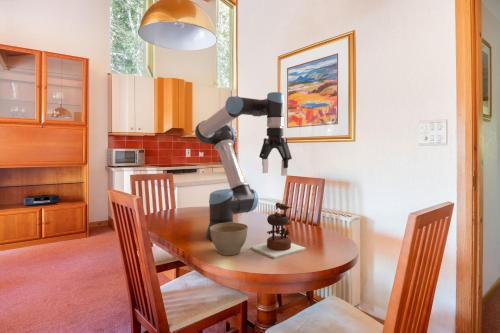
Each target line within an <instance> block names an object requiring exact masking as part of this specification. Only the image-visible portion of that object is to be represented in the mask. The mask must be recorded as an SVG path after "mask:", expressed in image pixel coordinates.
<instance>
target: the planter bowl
mask: <svg viewBox="0 0 500 333" xmlns="http://www.w3.org/2000/svg"><path fill="white" fill-rule="evenodd" d="M248 228H249V226H248V225H247V224H244V223H241V222H233V223H220V224H216V225H213V226H211V227H210V232H211V239H212V240H211V241H212V243H213V245H214V247H215V249H217V253H218V254H220V255H223V256H233V255H238V254H239V253H240V252H241V250H242V248H243V246H244V245H245V242H246V240H247V237H248V236H247V235H248Z"/></svg>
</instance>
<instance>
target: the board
mask: <svg viewBox="0 0 500 333" xmlns="http://www.w3.org/2000/svg"><path fill="white" fill-rule="evenodd" d="M306 249H307V248H306V247H304V246H302V245H298V244H297V243H293V242H291V248H290V249H289V250H285V251H275V250H271V249H269V248H267V242H264V243H260V244H256V245H252V246H250V250H253V251H256V252H258V253H259V254H262V255H265V256H268V257H270V258H272V259H279V258H282V257H286V256H289V255H292V254H296V253H299V252H302V251H306Z"/></svg>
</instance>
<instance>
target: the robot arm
mask: <svg viewBox="0 0 500 333" xmlns="http://www.w3.org/2000/svg"><path fill="white" fill-rule="evenodd" d="M284 108H285V96H284V94H283V93H282V92H280V91H279V92H277V91H276V92H275V91H273V92H272V91H271V92H268V93H267V95H266V98H264V99H258V98H257V99H256V98H249V97H243V96H234V95H233V96H229V97H227V99H226V101H225V105H224V106H223V107H222V108H221V109H219V110H217V111H216V112H215V113H214V114H213V115H211V116H210V117H209V118H207V119H206V120H202V121H200V122H198V124H197V125H196V126H195V129H194V136H195V138H196V139H197V141H198V142H200V143H202V144H204V145H212V146H213V148H214V150H215V151H217V152H218V155H219V159H220V160H221V163H222V166H223V169H224V174H225V176H226V179H227V182H228V185H229V188H225V189H216V190H214V191H212V192H210V194H209V197H208V198H209V199H208V202H209V222H208V227H207V229H206V233H205V234H206V239H207V240H210V241H212V239H211V232H210V227H211V226H213V225H216V224H220V223H234V215H239V214H244V213H246V214H247V213H250V212H253V211H255V210H256V209H257V207H258V204H259V195H258V192H257V190H255V189H251V187H250V184H249V183H247V182H246V181H245V176H244V175H243V173H242V169H241V166H240V164H239V160H238V158H237V155H236V152H235V149H234V147H233V146H234V145H235V140H236V132H235V130H234V128H233V127H232V125H230V124H229V123H231V122H232V121H234V120H235V119H237V118H238V117H240V116H241V115H246V116H253V117H259V118H260V117H263V116H265V117H266V127H267V128H266V136H267V137H268V138H267V137H265V138H263V143H262V146H261V150H260V153H259V155H258V156H259V159H260V158H261V160H262V161H261V163H262V164H261V165H262V174H268V173H269V156H270V154H271V152H272V150H273V149H276V150H277V151H278V153H279V155H280V157H281V159H282V160H281V167H280V168H281V172H280V173H281V174H280V176H283V177H284V176H288V167H289V160H292V158H293V157H292V154H291V150H290V148H289V145H288V138H287V137H283V136H284V128H283V127H284V125H285V123H284V120H285V119H284V114H285V112H284Z"/></svg>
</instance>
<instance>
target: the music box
mask: <svg viewBox="0 0 500 333" xmlns="http://www.w3.org/2000/svg"><path fill="white" fill-rule="evenodd" d="M278 209H279V210H281V211H282V210H283V213H281V212H278V211H277V210H278ZM288 209H293V206H288V205H287V204H285V203H281V202H278V201H277V202H276V203H275V211H274V213H272V214H269V215H268V216H267V217H266V221H267V223H268V225H271V228H272V229H271V230H270V231H269V230H268V231H266V233H267V234H268V235H271V234H272V235H271V236H269V237H268V238H267V239H266V243H267V248H269V249H271V250H275V251H285V250H289V249H290V248H291V243H292V239H291V238H290V237H288V236H290V234H291V232H290V228H289V225H291V221H290V220H289V216H288V215H287V214H286V210H287V211H289V210H288ZM284 226H287V228H285V227H284ZM275 234H276V235H275Z"/></svg>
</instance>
